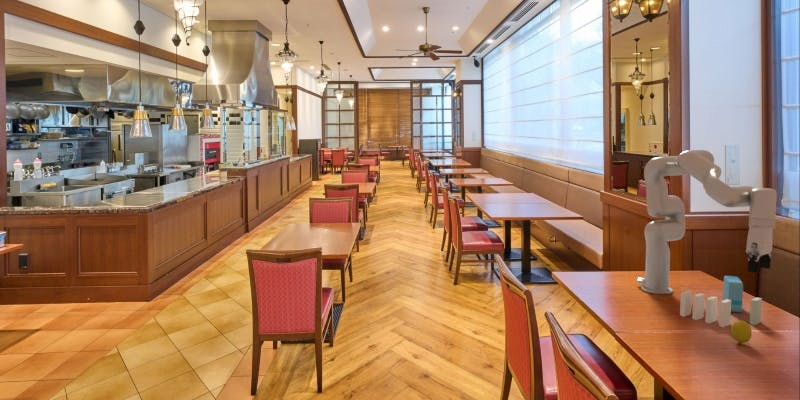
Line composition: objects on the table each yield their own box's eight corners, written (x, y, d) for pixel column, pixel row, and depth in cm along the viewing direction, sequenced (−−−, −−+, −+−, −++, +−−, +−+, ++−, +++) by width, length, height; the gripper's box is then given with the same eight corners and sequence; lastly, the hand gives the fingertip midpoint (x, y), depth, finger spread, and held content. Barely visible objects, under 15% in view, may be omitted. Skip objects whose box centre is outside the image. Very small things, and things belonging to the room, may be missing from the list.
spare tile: (749, 323, 176) (751, 299, 175) (755, 320, 178) (756, 297, 178) (754, 325, 174) (756, 300, 173) (760, 322, 177) (762, 298, 176)
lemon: (726, 340, 161) (727, 317, 160) (741, 340, 161) (743, 316, 161) (739, 347, 156) (740, 323, 155) (755, 346, 156) (756, 322, 155)
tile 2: (692, 318, 182) (693, 295, 181) (698, 316, 184) (700, 293, 183) (696, 320, 180) (698, 296, 179) (703, 317, 183) (704, 294, 182)
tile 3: (705, 322, 178) (706, 298, 177) (711, 319, 181) (713, 296, 180) (709, 323, 177) (711, 299, 176) (716, 320, 179) (717, 297, 178)
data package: (741, 313, 186) (743, 283, 185) (727, 312, 188) (729, 282, 187) (735, 304, 197) (737, 275, 196) (722, 303, 199) (723, 274, 198)
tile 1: (679, 315, 185) (681, 292, 184) (686, 312, 188) (687, 290, 187) (684, 316, 184) (685, 293, 183) (690, 314, 187) (691, 291, 186)
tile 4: (718, 326, 174) (720, 301, 173) (725, 323, 177) (726, 299, 176) (723, 327, 173) (725, 302, 172) (730, 324, 176) (731, 300, 175)
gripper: (759, 219, 180) (756, 264, 182) (739, 224, 171) (736, 271, 172) (783, 221, 174) (781, 268, 176) (764, 226, 165) (761, 275, 166)
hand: (759, 269), depth 174 cm, fingers open, 9 cm apart
